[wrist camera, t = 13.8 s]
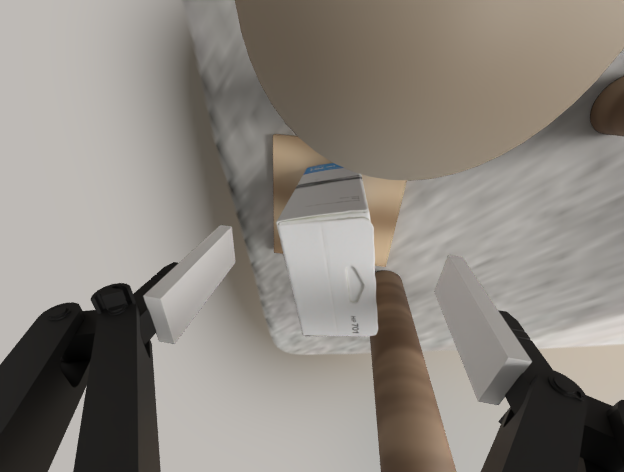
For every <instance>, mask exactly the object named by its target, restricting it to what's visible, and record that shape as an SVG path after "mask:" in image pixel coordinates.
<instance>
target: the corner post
mask: <svg viewBox="0 0 624 472" xmlns="http://www.w3.org/2000/svg"><path fill="white" fill-rule="evenodd" d="M375 278H376V303H377V317H378V320H377V322H378V331H377V334H376V335H374V336H370V343H371V355H372V367H373V380H374V391H375V404H376V416H377V428H378V441H379V453H380V465H381V472H456V469H455V465H454V462H453V459H452V455H451V451H450V448H449V444H448V441H447V437H446V434H445V430H444V427H443V423H442V420H441V416H440V413H439V409H438V406H437V402H436V399H435V395H434V392H433V388H432V385H431V381H430V378H429V374H428V371H427V367H426V364H425V360H424V357H423V353H422V350H421V346H420V343H419V339H418V336H417V332H416V329H415V325H414V322H413V318H412V315H411V311H410V308H409V304H408V301H407V297H406V294H405V290H404V287H403V283H402V280H401V278H400V277H399V276H398V275H397V274H396V273H394V272H391V271H378V272H375Z"/></svg>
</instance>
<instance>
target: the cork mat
mask: <svg viewBox="0 0 624 472" xmlns="http://www.w3.org/2000/svg"><path fill="white" fill-rule="evenodd" d="M329 163H333V162H331V161H329V160H328V159H326V158H325V157H323V156H322V155H320V154H318V153H317V152H315V151H314V150H313V149H312V148H311V147H309V146H308V145H307V144H306V143H305V142H303V141H302V140H301V139H300V138H299V137H298V136H292V135H280V134H274V135H273V196H274V253H282V254H283V250H282V246H281V240H280V236H279V233H278V229H277V224H276V222H277V220H278V218H279V217H280V215H281V213H282V211H283V209H284V208H285V206H286V204H287V202H288V201H289V199H290V197H291V196H292V194H293V192H294V190H295V188H296V187H297V185H298V183H299V181H300V179H301V178H302V176H303V174H304V173H305V171H306V169H307V168H309V167H313V166H317V165H323V164H329ZM361 175H362V180H363V185H364V190H365V195H366V199H367V204H368V209H369V213H370V221H371V223H372V225H373V227H374V249H375V266H383V267H386V263H387V259H388V255H389V251H390V247H391V243H392V239H393V235H394V230H395V226H396V222H397V218H398V214H399V210H400V206H401V202H402V198H403V194H404V190H405V186H406V182H407V180H387V179H381V178H375V177H369V176H366V175H363V174H361Z"/></svg>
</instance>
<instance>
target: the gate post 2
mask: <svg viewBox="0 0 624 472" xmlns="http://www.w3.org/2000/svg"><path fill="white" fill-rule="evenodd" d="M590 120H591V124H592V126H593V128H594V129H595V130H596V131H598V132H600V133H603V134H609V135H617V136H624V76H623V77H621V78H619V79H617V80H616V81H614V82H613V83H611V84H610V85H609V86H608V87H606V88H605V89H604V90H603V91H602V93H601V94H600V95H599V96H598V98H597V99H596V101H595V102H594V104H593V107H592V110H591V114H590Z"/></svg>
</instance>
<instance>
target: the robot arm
mask: <svg viewBox="0 0 624 472" xmlns="http://www.w3.org/2000/svg"><path fill="white" fill-rule="evenodd" d="M234 264H235V253H234V244H233V234H232V227H231V226H224V225H220V226H219V227H218V228H217V229H215V230H214V231H213V232H212V233H211V234H210V235H209V236H208V237H207V238H206V239H205V240H203V241H202V242H201V243H200V244H199V245H198V246H197V247H196V248H195V249H194V250H193V251H192V252H190V253H189V254H188V255H187V256H186V257H185V258H184V259H183V260H182V261H181V262H180V263H176V262H173V263H172V264H169V265H167V266H166V267H164V268H163V269H161V271H159V272H158V273H157V275H155V276H153V277H152V278H151V280H149V281H148V282H147V283H145V284H144V285H143V286H142V287H141V288H140V289H138V290H137V291H136V292H135V293H134V294H133V293H132V291H131V288H130V286H129V285H127V284H124V283H118V284H112V285H109V286H106V287H103V288H102V289H100V290H98V291H97V292H96V293H94V294H93V296H92V297H91V301H92V303H93V305H94V307H95V309H96V310H91V311H82V309H81V307H80V306H79V304H77V303H64V304H60V305H57V306H54V307H52V308H50V309H48V310H47V311H45V312H43V313H42V314H41V315H40V316H39V317H38V318H37V319H36V321H35V322H34V323H33V325H32V326H31V327H30V328H29V330H28V331H27V332H26V333H25V335H24V336H23V337H22V338H21V339H20V341H19V342H18V343H17V344H16V346H15V347H14V348H13V349H12V351H11V352H10V353H9V354H8V356H7V357H6V358H5V359H4V361H3V362H2V363H1V365H0V472H48V470H49V468H50V465H51V463H52V461H53V459H54V456H55V454H56V452H57V450H58V448H59V445H60V443H61V441H62V439H63V437H64V434H65V432H66V430H67V428H68V425H69V423H70V421H71V419H72V417H73V414H74V412H75V410H76V408H77V406H78V403H79V401H80V399H81V397H82V394H83V392H84V390H85V388H86V386H87V388H86V394H85V401H84V407H83V413H82V420H81V426H80V433H79V439H78V446H77V452H76V459H75V465H74V471H73V472H160V457H159V442H158V429H157V414H156V399H155V385H154V370H153V355H152V344H151V341H150V339H151V338H152V337H153V335H154V334H155V333H156V334H157V337H158V340H159V341H160V342H166V343H171V344H175V343H176V341H177V340H178V339H179V337H180V336H181V335H182V333H183V332H184V331H185V329H186V328H187V327H188V325H189V324H190V323H191V321H192V320H193V319H194V317H195V316H196V315H197V313H198V312H199V311H200V309H201V308H202V307H203V305H204V304H205V303H206V301H207V300H208V299H209V297H210V296H211V294H212V293H213V292H214V290H215V289H216V288H217V286H218V285H219V284H220V282H221V281H222V280H223V278H224V277H225V276H226V274H227V273H228V272H229V270H230V269H231V268H232V266H233V265H234ZM434 292H435V295H436V297H437V300H438V302H439V305H440V307H441V310H442V312H443V315H444V317H445V320H446V322H447V325H448V327H449V330H450V332H451V335H452V337H453V340H454V342H455V345H456V347H457V350H458V352H459V355H460V357H461V360H462V362H463V364H464V367H465V370H466V372H467V375H468V377H469V380H470V382H471V385H472V387H473V390H474V392H475V395H476V397H477V400H478V401H479V402H484V403H489V404H495V405H499V404H500V402H501V401H502V400H503V399H504V397H506V399H507V401H508V403H509V405H510V408H509V410H508V411H507V412H506V413H505V414H504V416H503V417H502V418H501V419H500V420H499V423H501V426H500V428H499V431H498V433H497V436H496V438H495V440H494V442H493V445H492V447H491V449H490V452H489V454H488V456H487V459H486V461H485V463H484V466H483V468H482V470H481V472H624V400H621V401H619V402H618V403H616V404H615V405H614V406H611V405H609V404H606V403H604V402H601V401H599V400H596V399H594V398H592V397H589V396H587V395H585V393H584V392H583V391H582V389H581V388H580V387H579V386H578V385H577V384H576V383H575V382H573V381H572V380H570V379H569V378H567V377H566V376H565V375H563V374H561V373H558V372H556V371H553V370H552V368H551V367H550V365H549V364H548V363H547V361H546V360H545V358H544V357H543V356H542V354H541V353H540V352H539V350H538V349H537V347H536V346H535V345H534V343H533V342H532V341H530V338H529V336H528V335H527V333H525V332H524V329H523V328H522V327H521V325H520V324H519V322H518V321H517V320H516V319H515V318H513V317H512V316H511V315H510V314H509V313H508V312H505V311H499V310H497V308H496V307H495V305H494V304H493V302H492V301H491V299H490V298H489V296H488V295H487V293H486V292H485V290H484V289H483V287H482V286H481V284H480V283H479V281H478V280H477V278H476V277H475V275H474V274H473V272H472V271H471V269H470V268H469V266H468V265H467V263H466V262H465V260H464V259H463V257H461V256H453V255H448V257H447V260H446V262H445V265H444V267H443V270H442V273H441V275H440V278H439V280H438V283H437V285H436V288H435V291H434Z"/></svg>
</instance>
